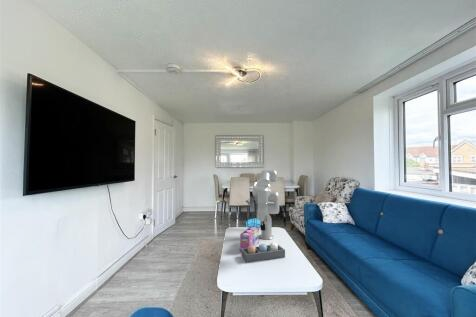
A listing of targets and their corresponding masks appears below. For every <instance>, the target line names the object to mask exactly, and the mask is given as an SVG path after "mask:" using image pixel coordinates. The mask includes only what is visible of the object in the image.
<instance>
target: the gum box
mask: <svg viewBox="0 0 476 317" xmlns="http://www.w3.org/2000/svg"><path fill="white" fill-rule="evenodd" d="M248 227H249V226H248ZM248 227H247V228H246V229H245V230H244V231H242V232H241V233H240V234H239V235H240V236H239V240H240V241H239V247H240V248H239V251H240V252H241V248H248V246H250V245H253V246H255V247H257V245H258V244H259V243H260V241H259V239H260V237H259V230H258V227H259V226H256V227H257V228H256V227H255V228H253V227H252V226H251V227H249V228H248Z"/></svg>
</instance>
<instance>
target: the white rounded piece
mask: <svg viewBox="0 0 476 317" xmlns="http://www.w3.org/2000/svg"><path fill="white" fill-rule="evenodd" d="M269 245H270V250H271V251H275V250H278V245H279V244H278V243H276V242H271V243H270V244H269Z"/></svg>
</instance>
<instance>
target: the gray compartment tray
mask: <svg viewBox="0 0 476 317" xmlns="http://www.w3.org/2000/svg"><path fill="white" fill-rule="evenodd" d="M266 245H267V244H266ZM240 256H241V258H242V257H243V258H242V259H243V261H245V263H247V264H248V263H255V262H261V261H269V260H276V259H283V258H284V259H285V258H286V249H285V248H284V247H283V246H281V245H280V244H278V250H275V251H271V250H270V244H268V245H267V252H260V251H259V246H255V253H252V254H248V248H241V251H240Z"/></svg>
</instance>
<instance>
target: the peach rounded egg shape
mask: <svg viewBox="0 0 476 317" xmlns="http://www.w3.org/2000/svg"><path fill="white" fill-rule="evenodd" d="M255 247H256V246H253V245H250V246H248V254H252V253H255Z"/></svg>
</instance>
